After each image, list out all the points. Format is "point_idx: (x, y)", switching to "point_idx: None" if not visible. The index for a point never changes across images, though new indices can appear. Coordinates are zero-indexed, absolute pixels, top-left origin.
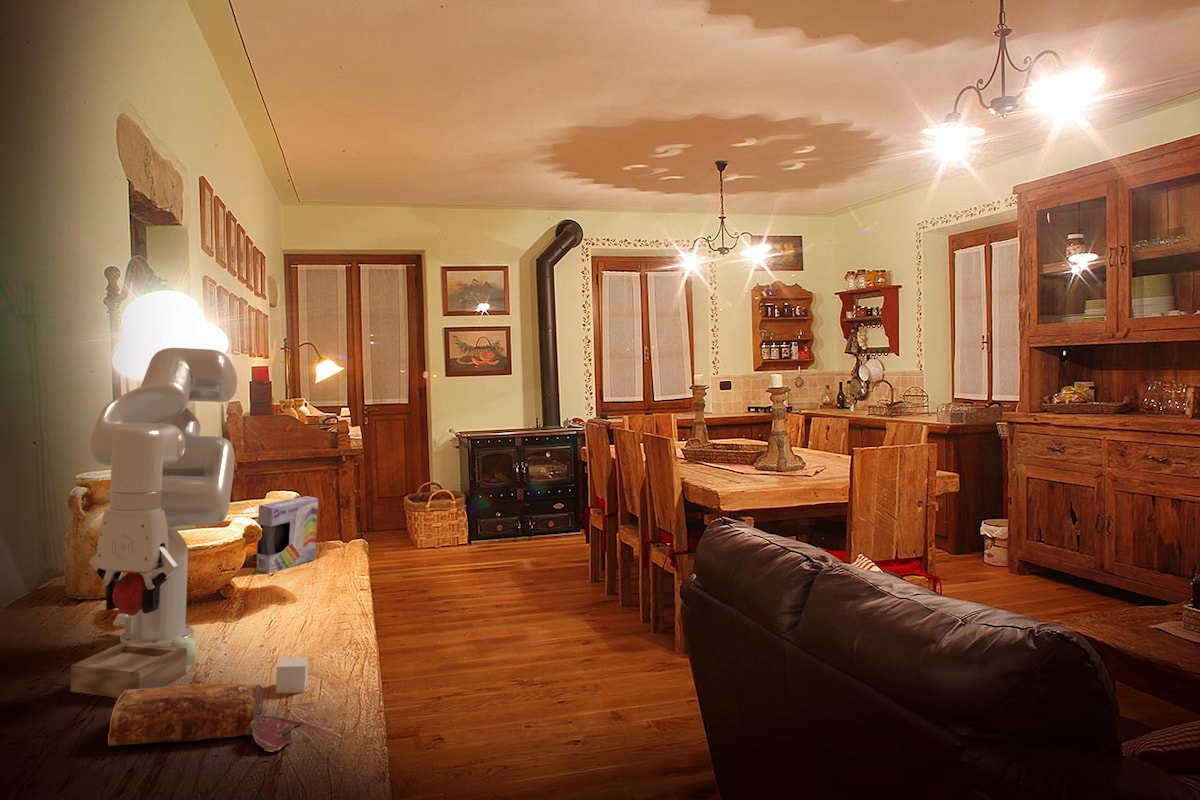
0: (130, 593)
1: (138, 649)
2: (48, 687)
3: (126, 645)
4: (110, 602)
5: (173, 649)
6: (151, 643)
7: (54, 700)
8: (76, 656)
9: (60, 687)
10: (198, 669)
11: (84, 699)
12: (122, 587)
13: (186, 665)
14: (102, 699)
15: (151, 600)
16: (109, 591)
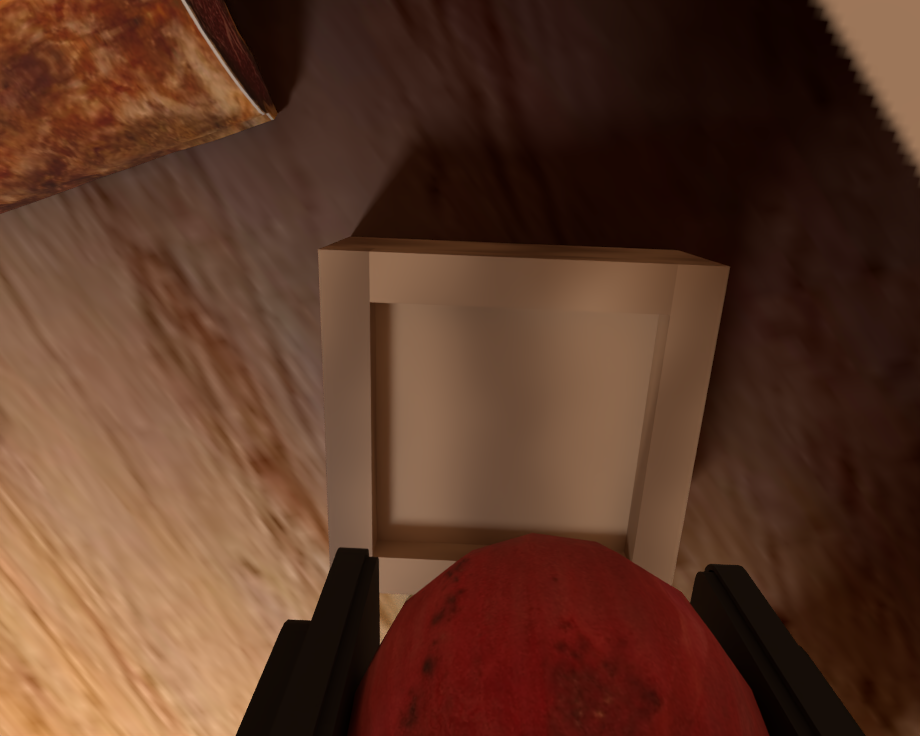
0: (456, 655)
1: None
2: (806, 291)
3: None
4: (728, 614)
5: (380, 568)
6: None
7: (695, 162)
8: (880, 602)
9: (756, 301)
10: None
11: (577, 201)
12: (590, 725)
13: (411, 595)
14: (504, 217)
15: (287, 665)
16: (805, 713)
